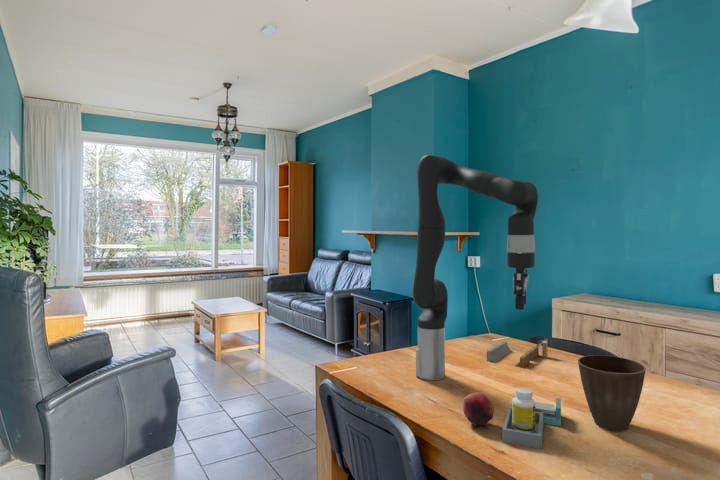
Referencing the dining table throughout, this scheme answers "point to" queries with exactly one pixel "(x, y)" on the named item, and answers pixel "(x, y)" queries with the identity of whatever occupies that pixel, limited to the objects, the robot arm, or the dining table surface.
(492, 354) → the skate ramp
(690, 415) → the dining table surface
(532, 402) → the supplement bottle
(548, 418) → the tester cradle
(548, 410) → the plate
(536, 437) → the trough
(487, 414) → the fruit
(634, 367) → the plant pot
